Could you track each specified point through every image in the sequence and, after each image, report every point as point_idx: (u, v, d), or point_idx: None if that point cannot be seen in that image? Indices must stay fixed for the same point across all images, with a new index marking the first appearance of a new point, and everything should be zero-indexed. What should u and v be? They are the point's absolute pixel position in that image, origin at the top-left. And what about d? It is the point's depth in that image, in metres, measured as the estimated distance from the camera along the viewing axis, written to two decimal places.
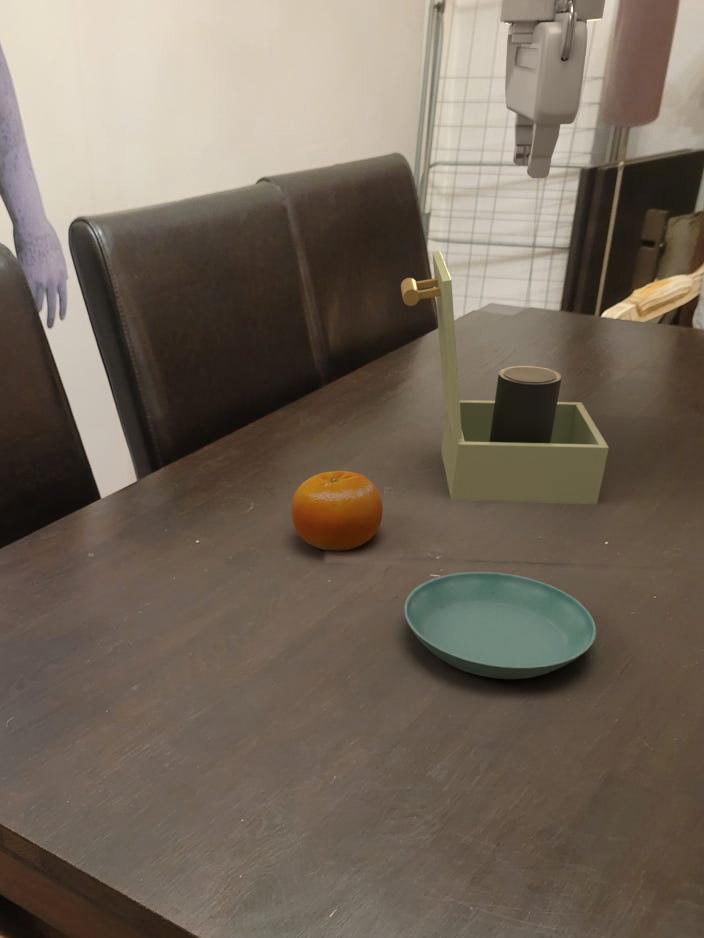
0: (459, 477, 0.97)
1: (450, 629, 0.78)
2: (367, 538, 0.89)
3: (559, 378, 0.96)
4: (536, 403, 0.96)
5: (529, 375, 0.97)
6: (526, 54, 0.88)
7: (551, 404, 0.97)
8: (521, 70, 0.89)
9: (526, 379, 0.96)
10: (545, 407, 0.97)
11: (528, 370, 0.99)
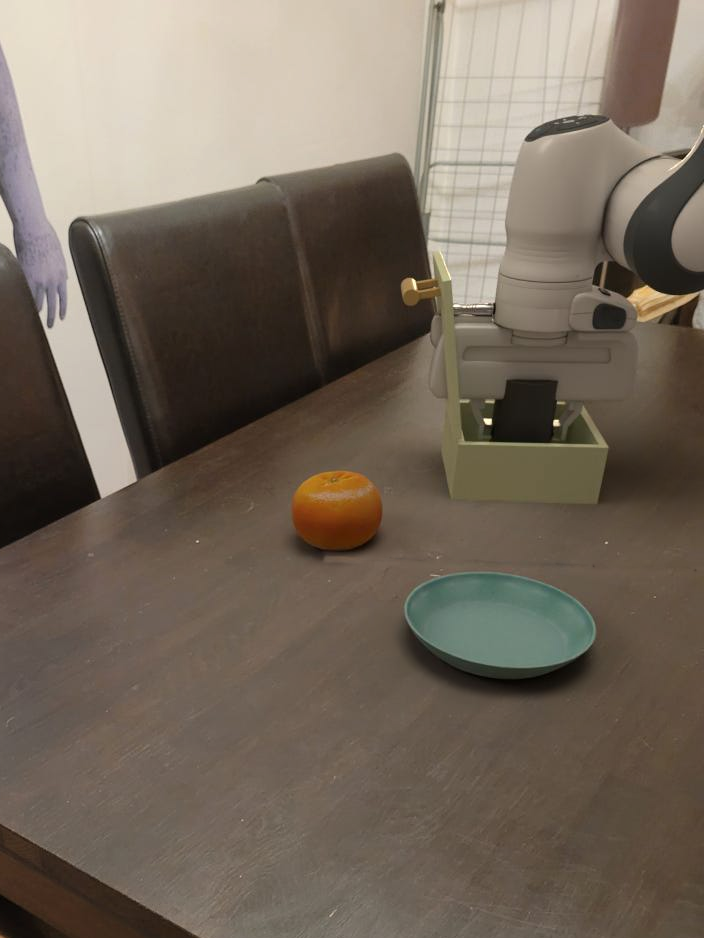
0: (459, 477, 0.97)
1: (450, 629, 0.78)
2: (367, 538, 0.89)
3: None
4: (536, 403, 0.96)
5: None
6: None
7: (550, 404, 0.97)
8: None
9: None
10: (545, 407, 0.97)
11: None
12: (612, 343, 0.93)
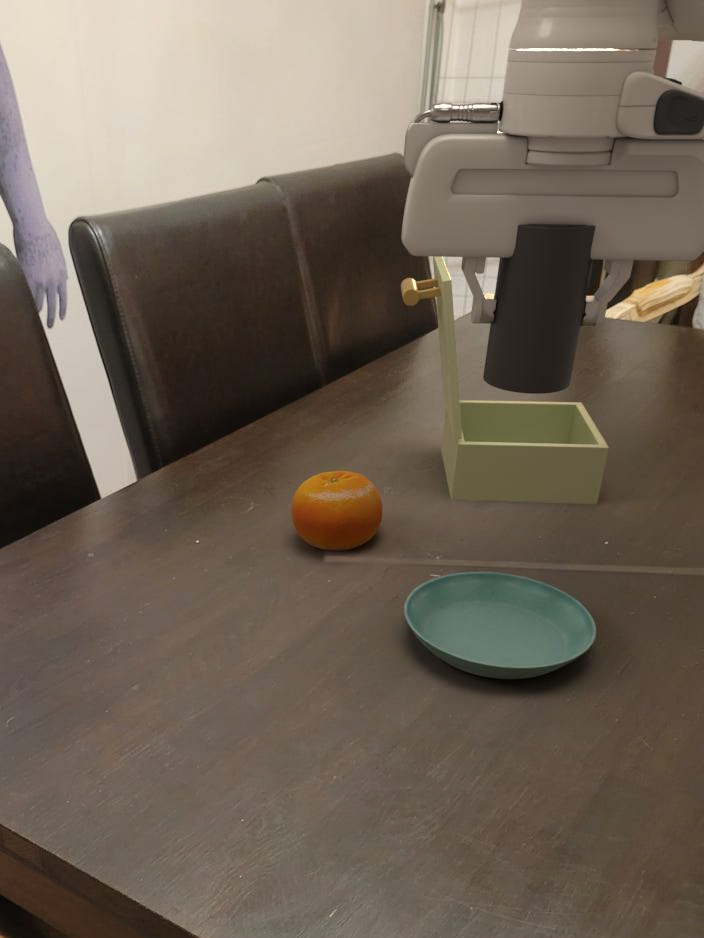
0: (459, 477, 0.97)
1: (450, 629, 0.78)
2: (367, 538, 0.89)
3: None
4: (561, 260, 0.63)
5: None
6: None
7: (583, 263, 0.64)
8: None
9: None
10: (575, 268, 0.64)
11: None
12: (681, 163, 0.60)
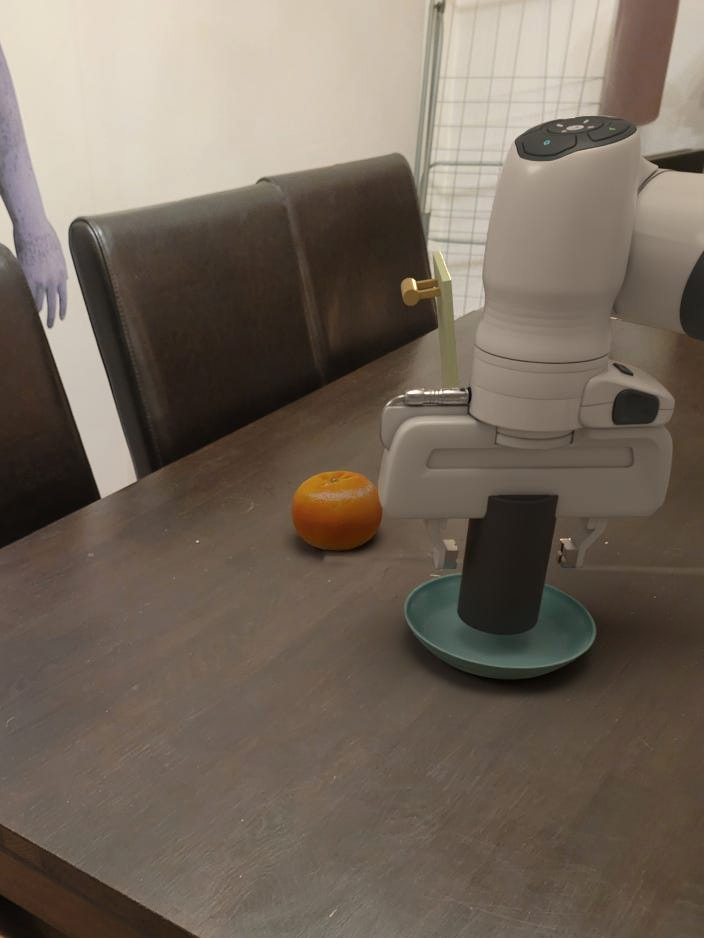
0: None
1: (450, 629, 0.78)
2: (367, 538, 0.89)
3: None
4: (530, 527, 0.68)
5: None
6: None
7: (549, 527, 0.69)
8: None
9: None
10: (542, 532, 0.69)
11: None
12: (636, 441, 0.65)
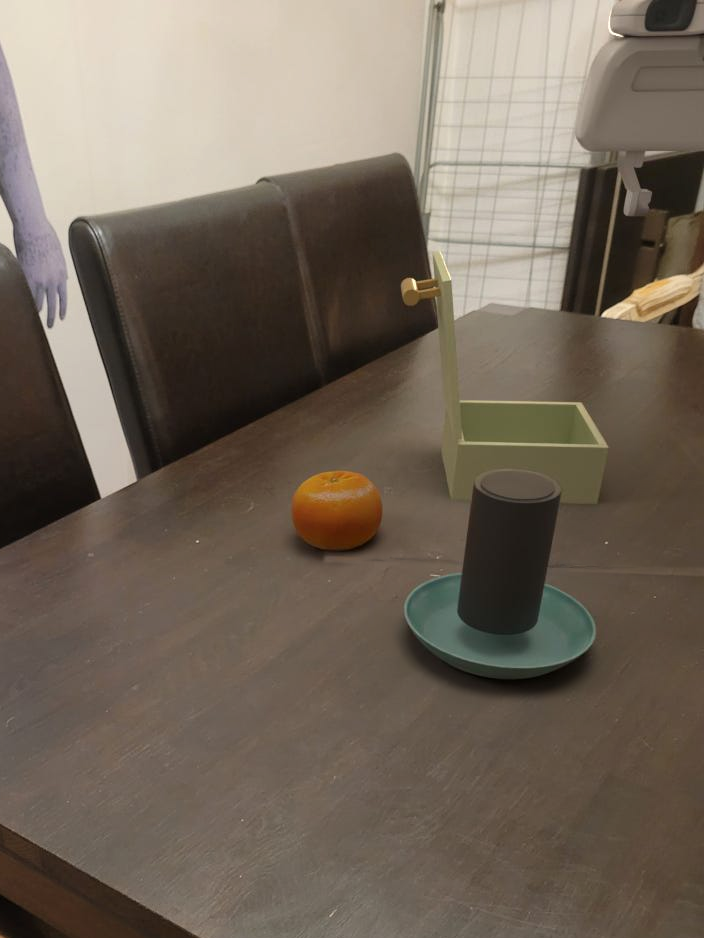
0: (459, 477, 0.97)
1: (450, 629, 0.78)
2: (367, 538, 0.89)
3: (559, 490, 0.69)
4: (530, 527, 0.68)
5: (517, 486, 0.69)
6: None
7: (549, 527, 0.69)
8: None
9: (514, 493, 0.68)
10: (542, 532, 0.69)
11: (514, 477, 0.71)
12: None
